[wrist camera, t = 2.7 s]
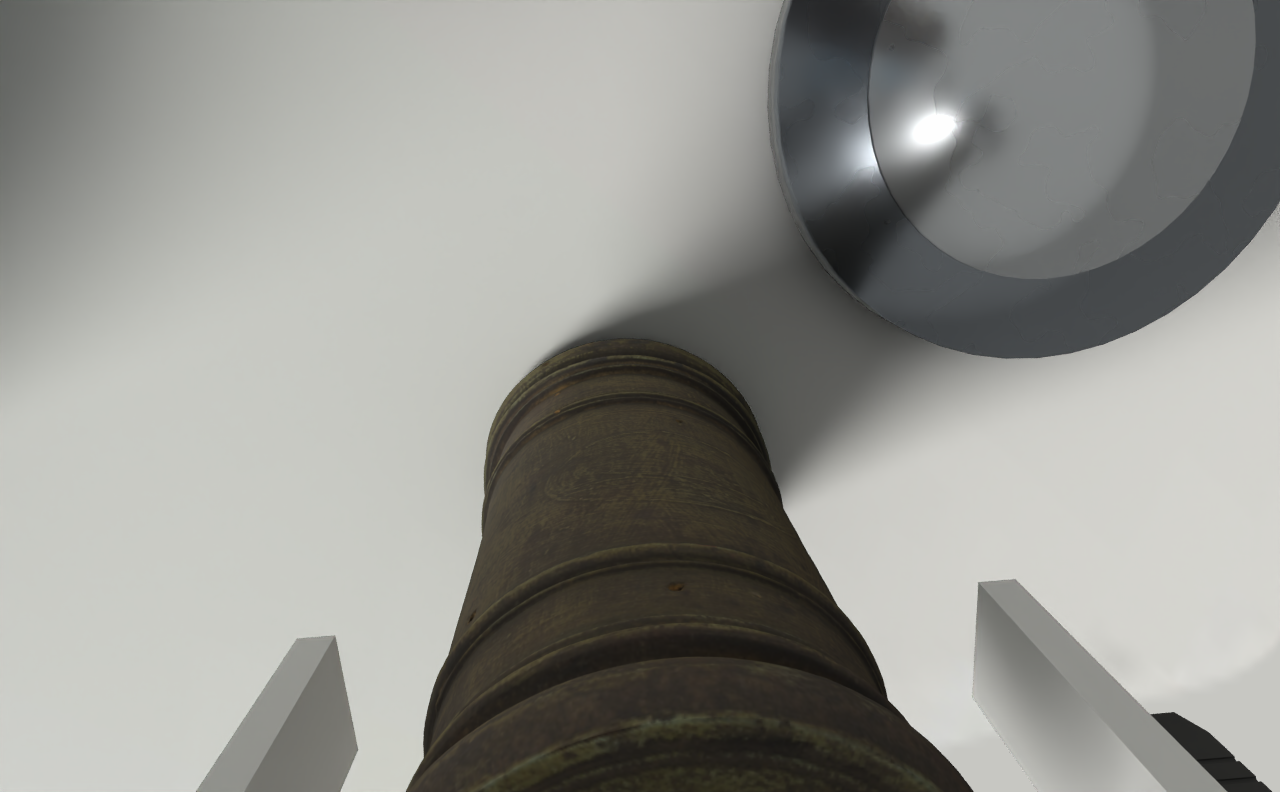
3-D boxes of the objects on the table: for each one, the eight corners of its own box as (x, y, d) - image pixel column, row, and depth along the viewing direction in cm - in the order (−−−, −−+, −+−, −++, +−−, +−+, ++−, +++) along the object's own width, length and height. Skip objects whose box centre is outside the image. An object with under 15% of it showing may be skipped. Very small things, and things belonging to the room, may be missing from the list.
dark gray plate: (773, 366, 26) (784, 380, 24) (760, -209, 21) (774, -240, 20) (1249, 328, 26) (1292, 339, 25) (1336, -242, 22) (1395, -274, 20)
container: (449, 386, 25) (143, 853, 8) (714, 294, 25) (976, 580, 8) (548, 617, 28) (474, 1341, 11) (790, 536, 28) (1114, 1153, 10)
